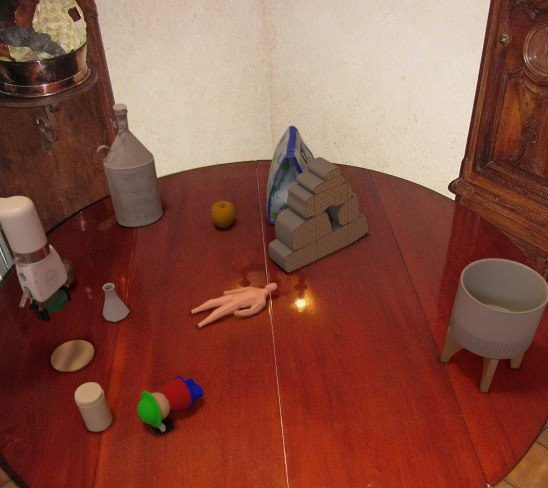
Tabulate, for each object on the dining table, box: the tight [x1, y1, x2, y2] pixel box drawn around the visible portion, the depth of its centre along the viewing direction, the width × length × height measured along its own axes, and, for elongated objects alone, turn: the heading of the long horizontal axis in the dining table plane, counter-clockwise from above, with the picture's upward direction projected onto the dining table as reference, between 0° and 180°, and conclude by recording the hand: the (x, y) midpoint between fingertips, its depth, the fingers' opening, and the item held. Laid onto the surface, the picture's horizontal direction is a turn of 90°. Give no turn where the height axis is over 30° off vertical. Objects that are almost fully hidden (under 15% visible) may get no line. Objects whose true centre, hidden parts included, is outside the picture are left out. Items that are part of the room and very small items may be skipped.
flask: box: [102, 282, 131, 323], centre depth 155 cm, size 7×7×10 cm
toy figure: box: [137, 375, 204, 437], centre depth 129 cm, size 9×10×15 cm
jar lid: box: [36, 289, 70, 314], centre depth 133 cm, size 7×7×2 cm
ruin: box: [267, 156, 370, 273], centre depth 169 cm, size 34×10×30 cm, turn 125°
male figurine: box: [191, 282, 278, 329], centre depth 157 cm, size 11×5×25 cm
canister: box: [96, 103, 164, 228], centre depth 182 cm, size 13×17×40 cm
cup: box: [62, 258, 75, 291], centre depth 165 cm, size 8×7×8 cm
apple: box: [210, 200, 237, 229], centre depth 187 cm, size 9×8×9 cm
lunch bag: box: [266, 125, 315, 225], centre depth 188 cm, size 22×17×26 cm
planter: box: [440, 257, 548, 393], centre depth 132 cm, size 19×19×26 cm
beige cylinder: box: [74, 381, 114, 433], centre depth 127 cm, size 6×6×10 cm
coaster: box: [50, 339, 95, 373], centre depth 146 cm, size 11×11×1 cm
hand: (55, 308), depth 135 cm, fingers closed on jar lid, 7 cm apart
